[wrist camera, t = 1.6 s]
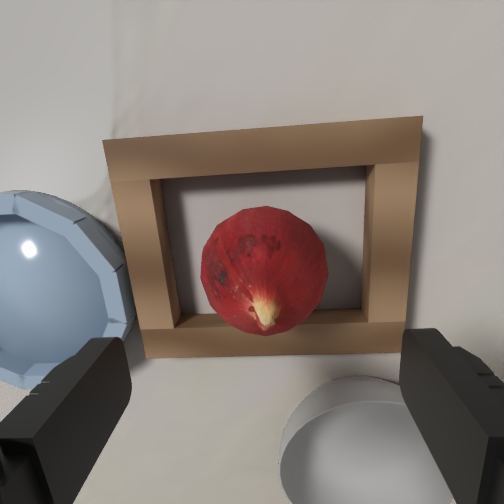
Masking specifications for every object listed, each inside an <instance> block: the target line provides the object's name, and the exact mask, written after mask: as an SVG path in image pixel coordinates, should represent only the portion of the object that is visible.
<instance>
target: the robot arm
mask: <svg viewBox="0 0 504 504" xmlns="http://www.w3.org/2000/svg"><path fill="white" fill-rule="evenodd" d="M399 382H400V389H401V394H402V397H403V400H404V402H405V404H406V406H407V408H408V410H409V412H410V414H411V416H412V418H413V420H414V421H415V423H416V425H417V427H418V429H419V431H420V433H421V435H422V437H423V439H424V441H425V443H426V445H427V447H428V449H429V451H430V453H431V455H432V457H433V458H434V460H435V462H436V464H437V466H438V468H439V470H440V472H441V474H442V476H443V478H444V480H445V482H446V484H447V486H448V488H449V490H450V492H451V493H452V495H453V497H454V499H455V501H456V503H457V504H504V383H503V382H502V381H501V380H500V379H499V378H498V377H497V376H494V373H493V372H492V371H491V370H490V368H489V367H488V366H487V365H486V364H485V363H484V362H483V361H482V360H481V359H480V358H478V357H476V356H475V355H473V354H471V353H470V352H468V351H466V350H465V349H463V348H461V347H453V346H452V345H451V344H450V343H449V342H448V341H447V340H446V339H445V337H444V336H443V335H442V334H441V333H440V332H439V331H438V330H437V329H435V328H424V329H405V330H404V332H403V336H402V348H401V361H400V374H399ZM131 390H132V382H131V377H130V372H129V368H128V363H127V358H126V353H125V349H124V344H123V341H122V340H121V338H119V337H96V338H91V339H90V340H89V341H88V342H87V343H86V344H85V345H84V346H83V347H82V348H81V349H80V350H79V351H78V352H77V353H76V354H75V355H74V356H71V357H69V358H68V359H66V360H65V361H63V362H62V363H60V364H59V365H57V366H55V367H54V368H53V369H52V370H51V371H50V372H49V373H48V374H47V375H46V376H45V377H44V378H43V379H42V380H41V383H40V384H37V385H36V386H35V387H34V388H33V390H32V391H31V392H30V394H29V396H26V397H25V398H24V399H23V400H22V401H21V402H20V403H19V404H18V405H17V406H16V407H15V408H14V409H13V410H12V411H11V412H10V413H9V414H8V415H7V416H6V417H5V418H4V419H3V420H2V421H1V422H0V504H73V502H74V500H75V498H76V497H77V495H78V493H79V491H80V490H81V488H82V486H83V484H84V482H85V481H86V479H87V477H88V475H89V473H90V472H91V470H92V468H93V466H94V464H95V463H96V461H97V459H98V457H99V455H100V454H101V452H102V450H103V448H104V446H105V445H106V443H107V441H108V439H109V437H110V436H111V434H112V432H113V430H114V428H115V427H116V425H117V423H118V421H119V419H120V418H121V416H122V414H123V412H124V410H125V409H126V407H127V405H128V403H129V400H130V396H131Z"/></svg>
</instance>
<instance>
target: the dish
mask: <svg viewBox="0 0 504 504" xmlns="http://www.w3.org/2000/svg"><path fill="white" fill-rule="evenodd" d="M135 315H136V306H135V301H134V296H133V291H132V286H131V281H130V276H129V271H128V266H127V261H126V256H125V254H124V252H123V250H122V249H121V247H120V246H119V244H118V243H117V242H116V240H115V239H114V237H113V236H112V235H111V234H110V233H109V232H108V231H107V230H106V228H105V227H104V226H103V225H101V224H100V223H99V222H98V221H97V220H96V219H95V218H94V217H92V216H91V215H89V214H88V213H87V212H85V211H84V210H82V209H81V208H79V207H77V206H75V205H74V204H72V203H70V202H68V201H66V200H63V199H61V198H58V197H56V196H52V195H49V194H45V193H41V192H35V191H27V190H13V191H6V192H0V380H1V381H4V382H6V383H8V384H11V385H13V386H16V387H18V388H21V389H22V388H23V389H33V388H34V387H35V386H36V385H37V384H40V383H41V380H42V379H43V378H44V377H45V376H46V375H47V374H48V373H49V372H50V371H51V370H52V369H53V368H54V367H55V366H57V365H59V364H60V363H62V362H63V361H65V360H66V359H68V358H69V357H71V356H74V355H75V354H76V353H77V352H78V351H79V350H80V349H81V348H82V347H83V346H84V345H85V344H86V343H87V342H88V341H89V340H90V339H91V338H96V337H119V338H121V340H122V341H123V342H124V340H125V338H126V337H127V335H128V333H129V332H130V330H131V328H132V325H133V322H134V319H135Z"/></svg>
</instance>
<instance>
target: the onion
mask: <svg viewBox="0 0 504 504" xmlns="http://www.w3.org/2000/svg"><path fill="white" fill-rule="evenodd" d="M327 278H328V269H327V262H326V256H325V250H324V245H323V243H322V242H321V240H320V239H319V237H318V236H317V234H316V233H315V232H314V230H313V229H312V227H311V226H310V225H309V224H308V223H306V222H304V221H303V220H301V219H300V218H298V217H296V216H295V215H293V214H292V213H290V212H289V211H286V210H282V209H277V208H273V207H269V206H263V207H256V208H250V209H243V210H241V211H239V212H238V213H236V214H235V215H233V216H231V217H230V218H228V219H226V220H225V221H223V222H221V223H220V224H218V225H217V226H216V228H215V230H214V231H213V233H212V235H211V236H210V238H209V240H208V241H207V243H206V244H205V246H204V248H203V252H202V262H201V278H200V279H201V281H202V284H203V287H204V290H205V292H206V295H207V298H208V300H209V303H210V305H211V306H212V308H213V309H214V310H215V311H216V312H217V313H218V314H219V316H220V317H221V318H222V319H223V320H224V321H225V322H226V323H227V324H228V325H231V326H233V327H235V328H237V329H239V330H241V331H243V332H245V333H249V334H255V335H261V336H270V335H274V334H278V333H283V332H286V331H289V330H290V329H292V328H293V327H295V326H297V325H298V324H300V323H301V322H303V321H305V320H306V319H307V318H308V316H309V315H310V314H311V313H312V311H313V310H314V309H315V307H316V306H317V305H318V304H319V302H320V300H321V298H322V295H323V292H324V288H325V285H326V281H327Z"/></svg>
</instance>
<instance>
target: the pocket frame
mask: <svg viewBox="0 0 504 504" xmlns="http://www.w3.org/2000/svg"><path fill="white" fill-rule="evenodd" d="M422 123H423V116H413V117H399V118H386V119H373V120H360V121H347V122H334V123H321V124H308V125H294V126H281V127H268V128H255V129H242V130H229V131H216V132H202V133H189V134H176V135H163V136H150V137H137V138H124V139H111V140H102V141H103V146H104V151H105V156H106V161H107V166H108V171H109V176H110V181H111V186H112V191H113V196H114V201H115V206H116V211H117V216H118V221H119V226H120V231H121V236H122V241H123V246H124V251H125V256H126V261H127V266H128V271H129V276H130V281H131V286H132V291H133V296H134V301H135V306H136V311H137V316H138V321H139V326H140V331H141V336H142V341H143V346H144V351H145V356H146V359H151V358H192V357H233V356H274V355H315V354H356V353H398V352H401V348H402V336H403V332H404V330H405V321H406V310H407V298H408V286H409V275H410V263H411V252H412V240H413V228H414V217H415V205H416V193H417V182H418V170H419V158H420V147H421V135H422ZM360 165H366V188H365V215H364V241H363V268H362V295H361V309H336V310H313V311H312V313H311V314H310V315H309V316H308V318H307V319H306V320H305V321H303V322H301V323H300V324H298V325H297V326H295V327H293V328H292V329H290V330H289V331H286V332H283V333H278V334H274V335H270V336H261V335H255V334H249V333H245V332H243V331H241V330H239V329H237V328H235V327H233V326H231V325H228V324H227V323H226V322H225V321H224V320H223V319H222V318H221V317H220V316H219V314H190V315H181V312H180V305H179V299H178V292H177V286H176V279H175V273H174V266H173V260H172V253H171V247H170V240H169V234H168V227H167V221H166V214H165V208H164V201H163V195H162V188H161V182H160V179H163V178H179V177H194V176H209V175H224V174H239V173H254V172H269V171H284V170H300V169H315V168H330V167H345V166H360Z"/></svg>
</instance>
